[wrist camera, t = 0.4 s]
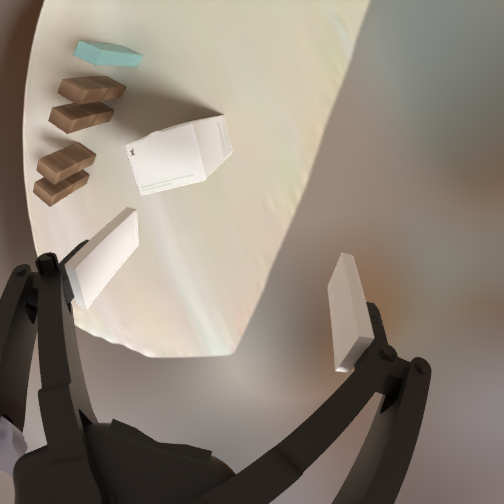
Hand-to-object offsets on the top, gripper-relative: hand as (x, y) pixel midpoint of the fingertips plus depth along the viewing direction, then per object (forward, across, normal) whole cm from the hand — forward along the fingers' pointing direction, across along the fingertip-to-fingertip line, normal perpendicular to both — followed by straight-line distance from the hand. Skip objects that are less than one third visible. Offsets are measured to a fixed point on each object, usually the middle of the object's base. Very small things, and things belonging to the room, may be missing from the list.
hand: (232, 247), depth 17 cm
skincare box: (+27, -10, +1) cm, 29 cm away
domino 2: (+27, -30, +4) cm, 40 cm away
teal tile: (+27, -25, +14) cm, 39 cm away
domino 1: (+27, -28, +9) cm, 39 cm away
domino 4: (+27, -36, -8) cm, 45 cm away
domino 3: (+27, -34, -4) cm, 43 cm away
